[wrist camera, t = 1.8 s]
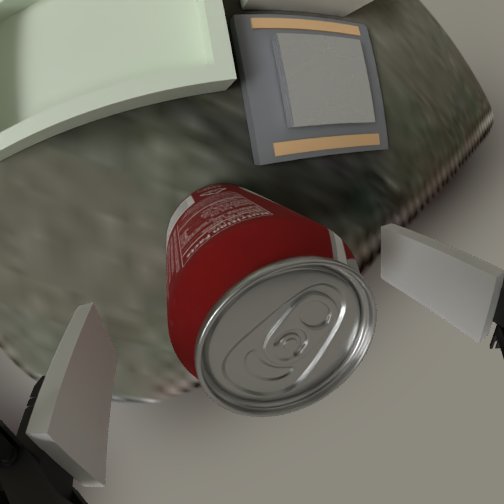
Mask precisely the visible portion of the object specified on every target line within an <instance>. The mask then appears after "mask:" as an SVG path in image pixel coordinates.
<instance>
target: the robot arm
mask: <svg viewBox="0 0 504 504" xmlns="http://www.w3.org/2000/svg"><path fill="white" fill-rule="evenodd" d="M381 279H383V280H385V281H386V282H388V283H390V284H391V285H393V286H394V287H396V288H397V289H399V290H401V291H402V292H404V293H405V294H407V295H408V296H410V297H411V298H413V299H414V300H416V301H417V302H419V303H420V304H422V305H423V306H425V307H427V308H428V309H429V310H431V311H432V312H434V313H436V314H437V315H439V316H440V317H441V318H443V319H444V320H446V321H448V322H449V323H450V324H452V325H453V326H455V327H456V328H458V329H459V330H461V331H462V332H463V333H465V334H466V335H468V336H469V337H470V338H472V339H473V340H475V341H476V342H478V343H479V342H481V341H482V340H483V339H484V338H485V337H486V336H487V335H488V333H489V331H490V328H491V325H492V321H493V322H495V323H496V324H497V326H496V329H495V332H494V335H493V338H492V340H491V343H490V349H492V348H493V345H494V343H495V341H497V344H496V347H495V348H501V351H502V355H503V358H504V270H503V269H501V268H498V267H496V266H494V265H492V264H490V263H488V262H485V261H483V260H481V259H479V258H477V257H474V256H472V255H470V254H468V253H465V252H462V251H460V250H458V249H456V248H453V247H451V246H449V245H446V244H444V243H442V242H439V241H437V240H434V239H432V238H429V237H427V236H424V235H422V234H419V233H417V232H414V231H411V230H409V229H406V228H403V227H401V226H398V225H395V224H393V223H392V224H388V225H384V226H381ZM117 359H118V354H117V352H116V350H115V348H114V346H113V344H112V342H111V340H110V338H109V336H108V334H107V332H106V329H105V327H104V325H103V323H102V321H101V319H100V316H99V314H98V312H97V310H96V307H95V305H94V303H93V302H92V303H88V304H84V305H80V306H78V307H77V309H76V311H75V313H74V315H73V317H72V319H71V321H70V323H69V325H68V327H67V329H66V331H65V333H64V335H63V337H62V339H61V342H60V344H59V346H58V348H57V350H56V353H55V355H54V357H53V359H52V362H51V364H50V367H49V369H48V371H47V374H46V376H42V377H41V378H40V380H39V381H38V382H37V383H36V385H35V386H34V388H33V391H32V393H31V396H30V400H29V401H28V404H27V408H26V409H25V412H24V415H23V418H22V420H21V423H20V426H19V429H18V433H17V436H15V435H14V433H13V432H12V431H11V430H10V429H9V428H8V427H7V426H6V425H5V424H4V423H3V421H2V420H0V504H88V503H87V502H86V501H85V500H84V498H83V497H82V496H81V495H80V493H79V492H78V491H77V490H76V489H75V488H74V487H72V485H73V478H74V479H75V480H77V481H78V482H79V483H81V484H82V485H83V486H86V487H105V478H106V454H107V439H108V427H109V417H110V408H111V400H112V392H113V385H114V378H115V372H116V365H117Z"/></svg>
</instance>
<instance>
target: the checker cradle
mask: <svg viewBox="0 0 504 504" xmlns="http://www.w3.org/2000/svg"><path fill="white" fill-rule="evenodd" d="M229 23H230V29H231V34H232V39H233V45H234V50H235V55H236V61H237V66H238V72H239V77H240V83H241V89H242V94H243V100H244V106H245V111H246V117H247V123H248V129H249V135H250V141H251V147H252V152H253V158H254V165H265V164H271V163H277V162H283V161H290V160H296V159H303V158H310V157H317V156H325V155H333V154H342V153H351V152H360V151H371V150H383V149H388V139H387V130H386V122H385V114H384V107H383V101H382V95H381V89H380V83H379V78H378V73H377V68H376V63H375V59H374V54H373V50H372V46H371V42H370V38H369V34H368V30H367V27H366V25H364V24H359V23H354V22H348V21H342V20H335V19H328V18H320V17H310V16H298V15H280V14H239V15H233V16H232V18H231V20H230V22H229ZM276 33H296V34H313V35H325V36H335V37H343V38H351V39H357V40H360V43H361V47H362V51H363V55H364V60H365V65H366V69H367V74H368V80H369V85H370V91H371V96H372V103H373V109H374V116H375V122H370V123H346V124H329V125H315V126H304V127H294V128H287V122H286V116H285V110H284V104H283V98H282V93H281V87H280V82H279V76H278V71H277V66H276V61H275V56H274V51H273V46H272V41H271V38H272V37H273V36H274V35H275V34H276Z"/></svg>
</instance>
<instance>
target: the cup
mask: <svg viewBox="0 0 504 504" xmlns="http://www.w3.org/2000/svg"><path fill="white" fill-rule="evenodd" d="M372 1H374V0H240V3H241V8H242V10H283V11H299V12H310V13H319V14H327V15H334V16H340V17H345V16H347V15H348V14H350V13H352V12H353V11H355V10H357V9H359V8H361V7H362V6H364V5H366V4H368V3H370V2H372Z"/></svg>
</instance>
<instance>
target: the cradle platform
mask: <svg viewBox="0 0 504 504" xmlns="http://www.w3.org/2000/svg"><path fill="white" fill-rule="evenodd" d="M271 41H272V46H273V51H274V56H275V61H276V66H277V71H278V76H279V82H280V87H281V93H282V98H283V104H284V110H285V116H286V122H287V128H294V127H304V126H315V125H329V124H346V123H370V122H375V116H374V109H373V103H372V96H371V91H370V85H369V80H368V74H367V69H366V65H365V60H364V55H363V51H362V47H361V43H360V40H357V39H351V38H343V37H335V36H325V35H313V34H296V33H276V34H275V35H274V36H273V37H272V38H271Z"/></svg>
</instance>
